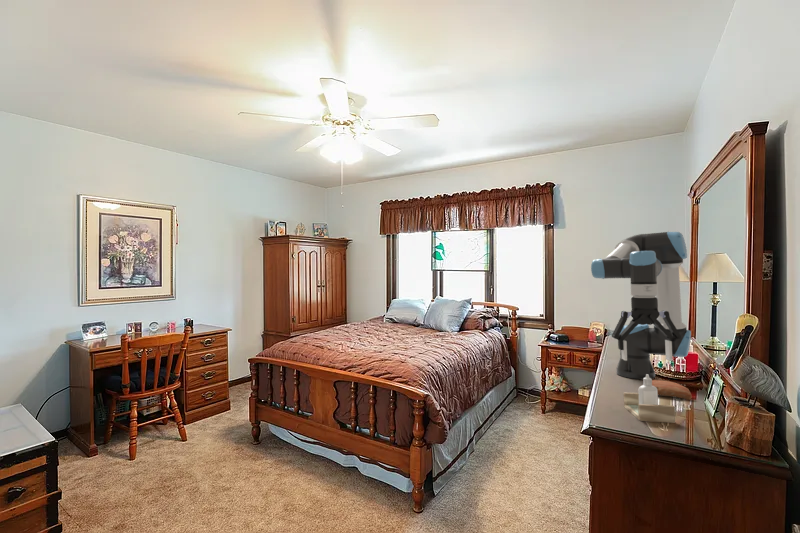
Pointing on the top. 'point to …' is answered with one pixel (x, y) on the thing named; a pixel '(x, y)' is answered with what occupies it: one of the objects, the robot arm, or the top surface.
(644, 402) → the eye dropper bottle
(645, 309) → the robot arm
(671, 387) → the ceramic shard
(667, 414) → the rack
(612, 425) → the top surface
